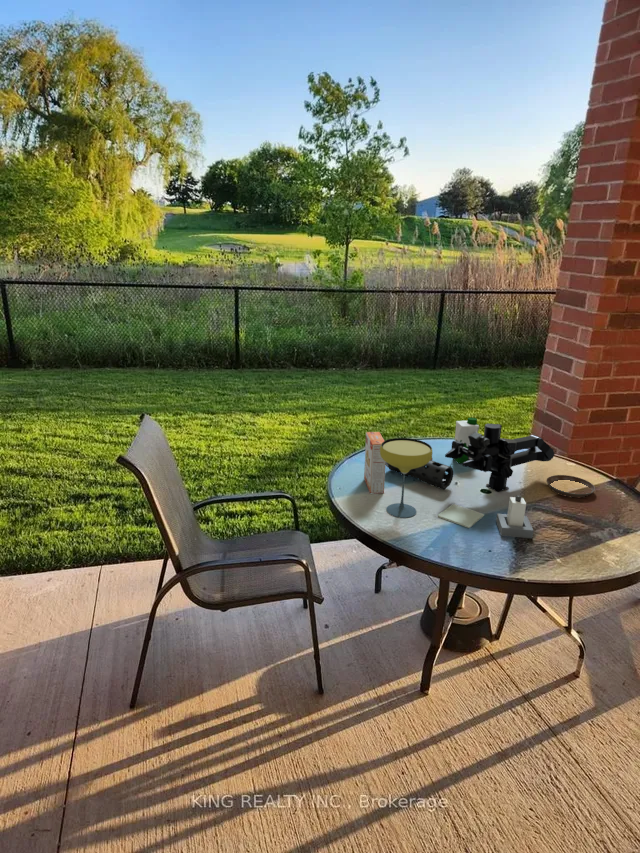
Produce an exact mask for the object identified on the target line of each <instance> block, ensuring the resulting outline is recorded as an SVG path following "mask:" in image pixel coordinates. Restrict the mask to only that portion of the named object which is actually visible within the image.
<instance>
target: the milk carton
mask: <svg viewBox="0 0 640 853" xmlns="http://www.w3.org/2000/svg"><path fill="white" fill-rule="evenodd" d="M479 430H480V425H479V424H478V418H476V417H472V416H471V417H468V418H467V420H456V421H455V431H454V441H456V440H457V441H460V442H462V443H463V444H464V448H466V449H469V448H468V445H470V441H469V438H468V436H469V435H471V434H472V433H474V432H477V433H479ZM453 460H454V461H455V462H456V463H457V464H460V465H462V464H463V463H464V462H466V461H468V457H467V456H466V455H464V454H463V456H462V458H458V459H454V458H453Z"/></svg>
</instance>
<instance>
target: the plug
mask: <svg viewBox="0 0 640 853" xmlns="http://www.w3.org/2000/svg"><path fill="white" fill-rule="evenodd" d="M526 508H527V502H526V501H525V499H524V497H522V495H518V494H516V495H515V496H514V497H513V496H509V502H508V508H507V520H506V523H507V525H511V526H522V527H523V521H524V516H526V515H525V514H526Z"/></svg>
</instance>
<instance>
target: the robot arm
mask: <svg viewBox="0 0 640 853" xmlns="http://www.w3.org/2000/svg"><path fill="white" fill-rule="evenodd" d="M502 429H503V425H502V424H499V423H496V424H495V423H486V424H484V429H483V431H484V432H483V434H482V433H479V432H474V433H472V434H471V435H469V436H468V438H469V441H470V445H468V448H469V449H466V448H464V444H463V443H462V442H460V441H457V440H456V441H455V440H453V441H451V449H450V450H449V451H448V452H446V454H444V457H445V458H448V459H453V460H454V459H458V458H462V456H463V454H464V455H466V456H467V457H468V461H466V462H464V463H463V464H461V465H462V467H467V468H470V469H473V470H477V471H480V472H484V473H487V472H490V474H489V479H488V483H487V484H485V486H486V487H488V488H489V489H491V490H493V491H495V492H497V493H498V492H502V491H506V490H509V489H510V487H508V486H507V482H508V479H509V478H510V477H512V475H513V473H514V470H513V469H512V467H515V466H518V465H523V464H527V463H530V462H531V463H532V462H534V461H537V462H550V461H552V460H553V458H554V456H555V452H554V448H552V446H550V445H549V444H548V443H546V442H545V441H544V439H543V438H542V437H540V436H538V435H535V434H530V435H527V436H524V437H523V436H522V437H518V438H513V439H510V438H503V437H501V434H502ZM525 449H527V450H525ZM521 450H522V451H521ZM517 451H519V452H517Z"/></svg>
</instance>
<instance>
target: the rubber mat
mask: <svg viewBox="0 0 640 853" xmlns="http://www.w3.org/2000/svg"><path fill="white" fill-rule="evenodd" d="M484 516H485V514H484V513H481V512H478V511H476V510H472V509H470V508H467V507H464V506H461V505H459V504H458V505H457V504H455V503H453V504H451V505H450V506H449V507H447V508H446V509H444V510H443V511H442V512H440V513H439V514H438V515H437V518H440V519H443V520H446V521H449V522H451V523H454V524H457V525H459V526H461V527H465V528H468V529H471V528H472V527H473V526H474V525H475V524H477V523H478V521H480V520H481V519H482V518H483V517H484Z"/></svg>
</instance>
